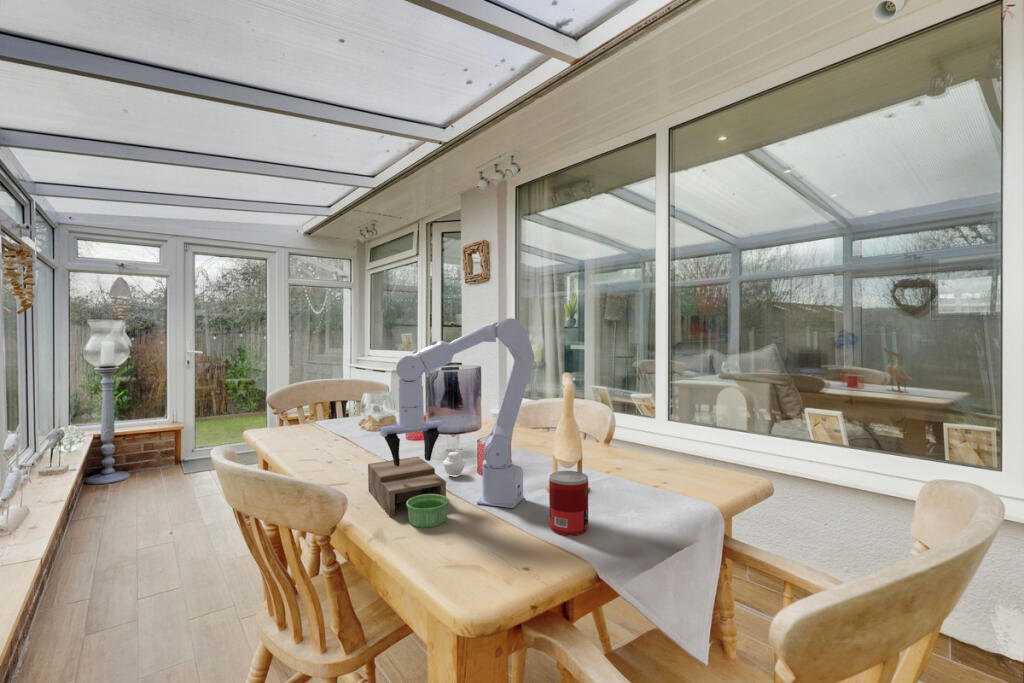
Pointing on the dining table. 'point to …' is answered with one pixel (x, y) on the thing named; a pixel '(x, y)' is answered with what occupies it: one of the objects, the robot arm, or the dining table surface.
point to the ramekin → (427, 510)
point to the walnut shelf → (402, 482)
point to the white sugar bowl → (453, 464)
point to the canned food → (568, 502)
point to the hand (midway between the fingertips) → (412, 462)
